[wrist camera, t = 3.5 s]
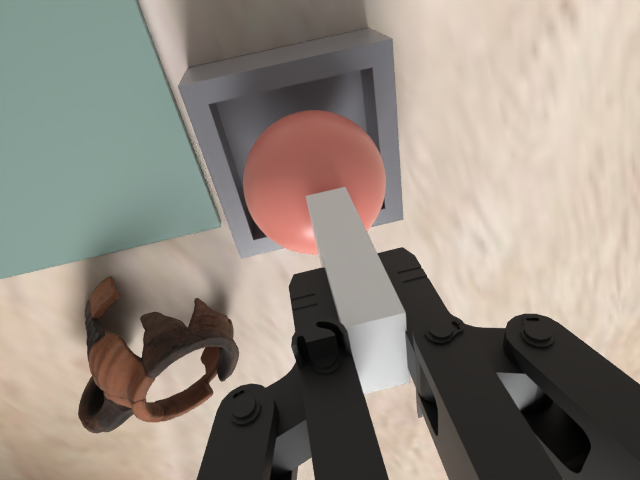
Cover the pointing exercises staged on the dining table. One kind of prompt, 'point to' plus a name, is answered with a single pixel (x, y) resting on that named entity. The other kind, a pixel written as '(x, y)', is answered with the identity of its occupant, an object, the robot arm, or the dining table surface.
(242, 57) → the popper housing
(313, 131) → the pinkish red ball
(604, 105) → the dining table surface
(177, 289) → the dining table surface
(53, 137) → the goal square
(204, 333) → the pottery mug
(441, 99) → the dining table surface
